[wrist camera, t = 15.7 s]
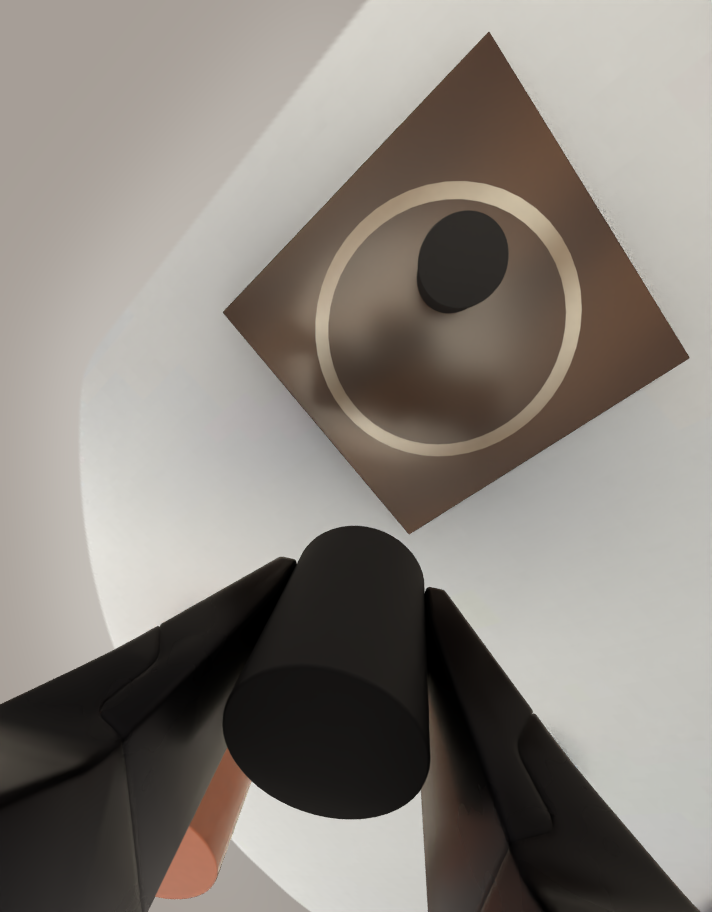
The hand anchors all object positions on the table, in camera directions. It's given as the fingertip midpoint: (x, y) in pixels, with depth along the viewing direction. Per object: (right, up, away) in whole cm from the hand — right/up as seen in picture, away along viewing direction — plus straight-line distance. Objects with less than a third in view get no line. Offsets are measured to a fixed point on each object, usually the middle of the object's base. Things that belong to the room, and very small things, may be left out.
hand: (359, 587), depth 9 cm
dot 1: (0, 0, 0) cm, 0 cm away
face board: (+4, +9, +10) cm, 15 cm away
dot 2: (+4, +11, +8) cm, 15 cm away
